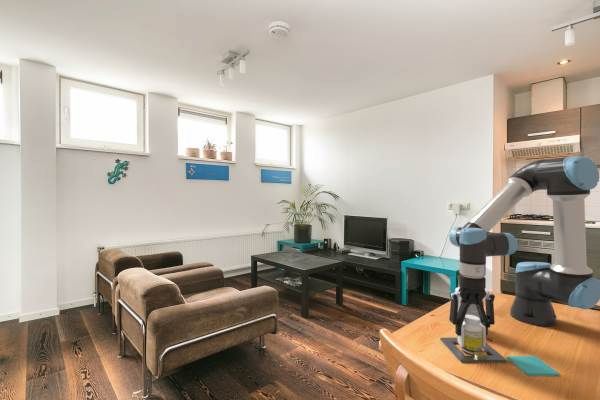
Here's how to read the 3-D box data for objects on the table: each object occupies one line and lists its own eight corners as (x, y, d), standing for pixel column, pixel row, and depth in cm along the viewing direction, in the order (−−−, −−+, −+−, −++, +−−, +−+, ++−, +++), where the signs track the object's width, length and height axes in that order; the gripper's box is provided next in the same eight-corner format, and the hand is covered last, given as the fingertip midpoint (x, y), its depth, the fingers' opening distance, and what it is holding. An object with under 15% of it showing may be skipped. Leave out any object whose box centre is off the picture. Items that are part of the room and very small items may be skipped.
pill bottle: (462, 343, 103) (463, 312, 103) (483, 349, 100) (484, 316, 99) (458, 351, 99) (459, 317, 98) (480, 357, 95) (481, 323, 94)
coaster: (535, 357, 94) (535, 356, 94) (559, 375, 85) (559, 373, 85) (506, 357, 95) (506, 356, 95) (527, 375, 86) (527, 373, 86)
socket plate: (480, 339, 106) (480, 334, 106) (507, 362, 92) (507, 356, 92) (440, 339, 106) (440, 334, 106) (461, 362, 92) (461, 356, 92)
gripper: (448, 278, 95) (447, 350, 95) (509, 278, 95) (508, 350, 95) (437, 272, 102) (437, 339, 103) (494, 272, 102) (493, 339, 103)
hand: (471, 344), depth 99 cm, fingers closed on pill bottle, 6 cm apart
